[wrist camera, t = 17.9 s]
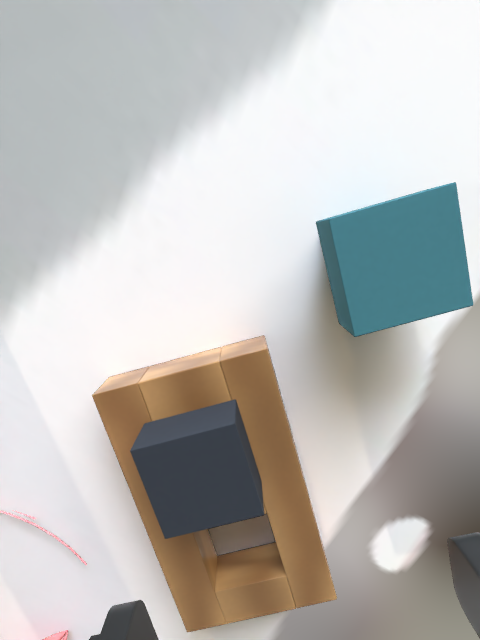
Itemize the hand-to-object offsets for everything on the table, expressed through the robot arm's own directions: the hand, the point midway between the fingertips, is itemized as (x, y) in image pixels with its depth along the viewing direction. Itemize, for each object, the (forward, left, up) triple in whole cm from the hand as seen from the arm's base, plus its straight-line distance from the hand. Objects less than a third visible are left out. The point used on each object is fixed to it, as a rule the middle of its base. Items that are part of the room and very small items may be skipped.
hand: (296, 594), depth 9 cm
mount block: (-5, -7, -16) cm, 18 cm away
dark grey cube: (-5, -3, -16) cm, 17 cm away
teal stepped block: (+8, +6, -16) cm, 19 cm away
